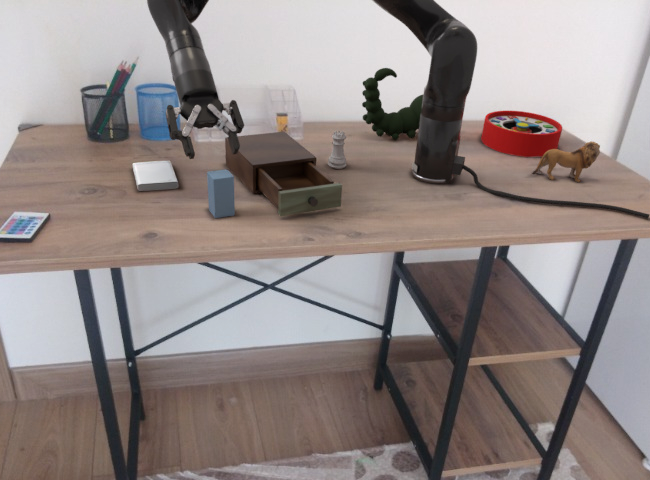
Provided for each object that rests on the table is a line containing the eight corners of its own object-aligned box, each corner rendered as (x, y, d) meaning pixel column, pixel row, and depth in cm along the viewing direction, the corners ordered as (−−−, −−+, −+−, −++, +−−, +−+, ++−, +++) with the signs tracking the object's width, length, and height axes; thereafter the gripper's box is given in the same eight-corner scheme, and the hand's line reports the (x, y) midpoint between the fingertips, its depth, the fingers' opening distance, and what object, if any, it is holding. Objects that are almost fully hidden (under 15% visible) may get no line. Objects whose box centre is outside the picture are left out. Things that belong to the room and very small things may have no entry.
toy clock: (500, 134, 160) (475, 109, 176) (495, 156, 163) (471, 130, 180) (575, 135, 163) (544, 111, 179) (569, 157, 166) (539, 131, 183)
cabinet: (315, 185, 141) (316, 157, 137) (253, 194, 135) (252, 165, 131) (283, 157, 153) (284, 131, 150) (225, 164, 147) (224, 137, 144)
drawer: (343, 208, 129) (345, 187, 127) (282, 218, 124) (283, 196, 121) (306, 176, 142) (307, 156, 140) (250, 184, 137) (250, 163, 134)
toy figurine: (369, 150, 166) (459, 139, 171) (369, 75, 156) (465, 65, 160) (359, 137, 174) (445, 127, 179) (358, 65, 163) (451, 56, 168)
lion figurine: (587, 174, 156) (597, 138, 152) (595, 183, 152) (606, 146, 147) (527, 172, 155) (536, 135, 151) (534, 180, 151) (543, 143, 146)
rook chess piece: (344, 170, 149) (347, 136, 145) (325, 168, 149) (327, 134, 145) (348, 163, 153) (350, 130, 148) (329, 161, 153) (331, 128, 149)
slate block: (234, 215, 126) (233, 176, 122) (215, 218, 124) (213, 179, 120) (228, 207, 129) (227, 169, 124) (208, 209, 127) (206, 171, 123)
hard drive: (178, 181, 134) (170, 159, 144) (137, 184, 131) (131, 162, 141) (178, 188, 135) (170, 166, 144) (138, 192, 132) (132, 169, 142)
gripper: (158, 69, 119) (180, 150, 117) (232, 65, 125) (254, 142, 123) (154, 91, 126) (174, 167, 124) (224, 86, 132) (244, 159, 130)
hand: (214, 154), depth 123 cm, fingers open, 8 cm apart
